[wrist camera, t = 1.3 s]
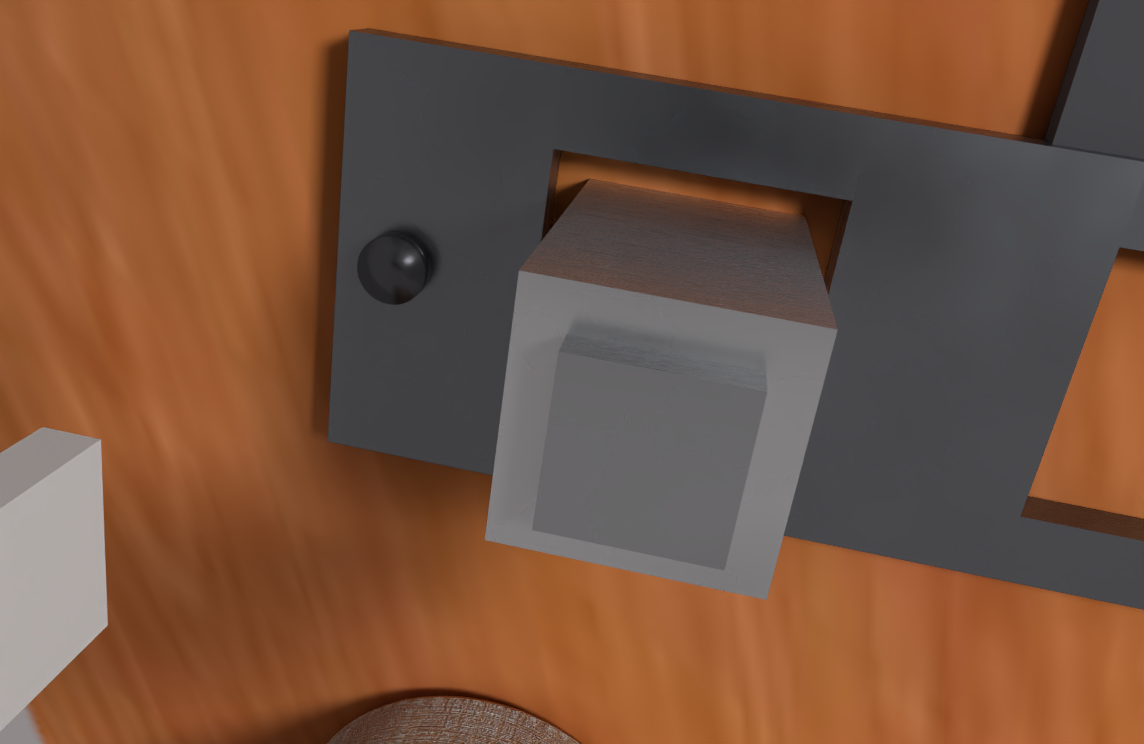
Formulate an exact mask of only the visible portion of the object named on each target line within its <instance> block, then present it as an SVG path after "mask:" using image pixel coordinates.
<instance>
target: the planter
mask: <svg viewBox="0 0 1144 744" xmlns="http://www.w3.org/2000/svg"><path fill="white" fill-rule="evenodd" d="M327 744H582V743H581V742H579V741H578V740H577V739H575V738H574V737H572V736H571V735H570V734H568V733H566V732H565V731H563V730H561V729H560V728H558V727H556V726H554V725H553V724H551V723H549V722H547V721H545V720H543V719H541V718H539V717H537V716H534V715H532V714H530V713H527V712H525V711H522V710H520V709H517V708H514V707H510V706H507V705H504V704H500V703H496V702H492V701H487V700H482V699H477V698H470V697H462V696H425V697H416V698H409V699H404V700H399V701H395V702H392V703H389V704H386V705H382V706H380V707H377V708H375V709H372V710H370V711H368V712H366V713H364V714H362V715H360V716H358V717H357V718H355V719H354V720H352V721H351V722H349V723H348V724H347V725H345V726H344V727H343V728H342V729H340V730H339V731H338V732H337V733H336V734H335V735H334V736H333V737H332V738H331V739H330V740H329V742H328V743H327Z"/></svg>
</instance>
